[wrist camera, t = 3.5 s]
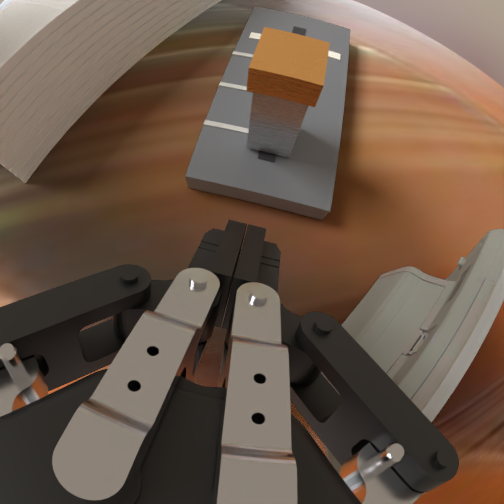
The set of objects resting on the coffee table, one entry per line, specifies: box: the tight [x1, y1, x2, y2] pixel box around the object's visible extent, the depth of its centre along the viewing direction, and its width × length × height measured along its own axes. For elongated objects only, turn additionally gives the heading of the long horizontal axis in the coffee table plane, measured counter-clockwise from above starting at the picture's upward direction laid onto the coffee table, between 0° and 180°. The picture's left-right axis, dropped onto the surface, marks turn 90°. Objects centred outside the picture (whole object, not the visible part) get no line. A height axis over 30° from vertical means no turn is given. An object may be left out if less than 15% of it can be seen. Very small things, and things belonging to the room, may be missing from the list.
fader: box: [246, 27, 330, 158], centre depth 18 cm, size 4×4×8 cm
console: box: [185, 6, 350, 220], centre depth 24 cm, size 10×21×2 cm, turn 167°
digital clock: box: [321, 229, 504, 475], centre depth 16 cm, size 16×9×11 cm, turn 125°
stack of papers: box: [0, 0, 222, 184], centre depth 21 cm, size 32×11×11 cm, turn 146°
